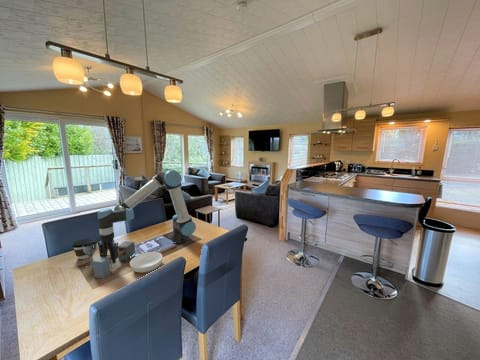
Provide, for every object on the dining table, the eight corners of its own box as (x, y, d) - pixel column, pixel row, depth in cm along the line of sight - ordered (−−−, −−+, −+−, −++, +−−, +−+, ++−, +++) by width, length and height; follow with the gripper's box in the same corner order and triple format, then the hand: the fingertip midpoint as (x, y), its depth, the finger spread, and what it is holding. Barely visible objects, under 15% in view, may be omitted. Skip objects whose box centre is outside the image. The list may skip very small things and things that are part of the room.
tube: (122, 252, 139) (122, 247, 138) (127, 253, 138) (127, 248, 137) (98, 268, 120) (98, 262, 119) (104, 269, 119) (103, 263, 119)
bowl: (132, 263, 134) (131, 255, 133) (162, 257, 141) (162, 249, 140) (128, 280, 116) (127, 270, 115) (163, 272, 124) (163, 263, 123)
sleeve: (127, 254, 145) (126, 241, 143) (135, 255, 144) (134, 241, 142) (118, 260, 137) (117, 246, 136) (127, 261, 136) (126, 247, 134)
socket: (101, 272, 124) (99, 256, 122) (110, 273, 122) (109, 257, 121) (94, 277, 119) (92, 260, 117) (103, 278, 117) (102, 262, 116)
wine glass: (102, 262, 134) (100, 242, 132) (90, 268, 127) (87, 247, 125) (94, 260, 137) (92, 240, 135) (81, 266, 129) (79, 245, 127)
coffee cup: (96, 255, 143) (94, 240, 141) (79, 263, 133) (77, 247, 131) (87, 252, 147) (86, 237, 146) (70, 259, 138) (68, 243, 136)
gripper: (123, 231, 125) (126, 265, 128) (100, 229, 128) (104, 262, 131) (113, 236, 117) (117, 272, 121) (89, 234, 120) (93, 269, 124)
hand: (110, 267), depth 126 cm, fingers closed on tube, 4 cm apart
